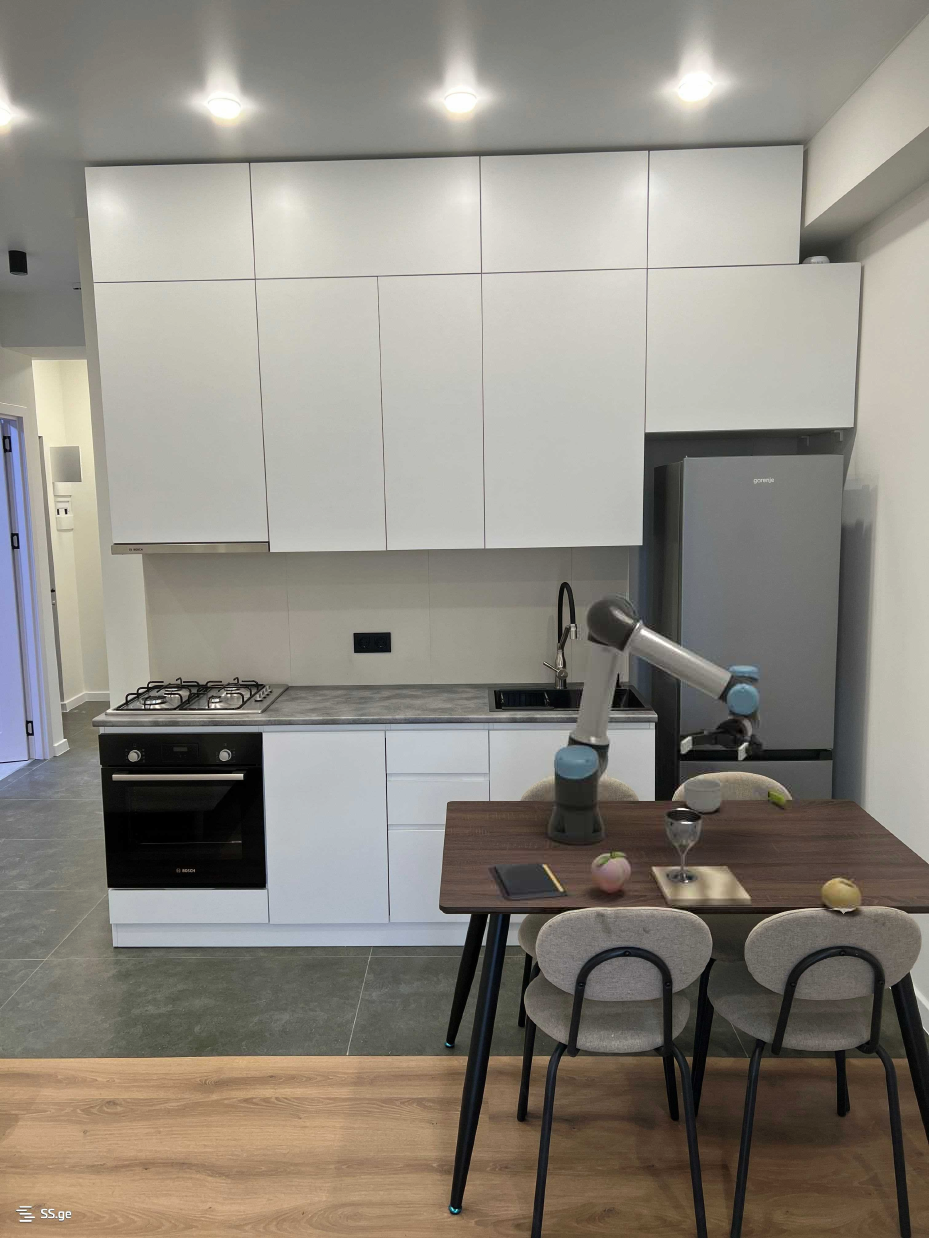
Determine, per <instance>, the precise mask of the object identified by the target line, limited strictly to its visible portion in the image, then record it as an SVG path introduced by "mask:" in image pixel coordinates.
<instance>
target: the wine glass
mask: <svg viewBox="0 0 929 1238" xmlns="http://www.w3.org/2000/svg"><path fill="white" fill-rule="evenodd" d="M665 828H666V832H667V833H666V834H667V837H668V839H669V840H670V842H671V843H672V844H673V845H674V846H675V848H676V849H677V850H678V853H679V857H680V860H679V861H680V867H681V868H678V869H672V870H669V871H668V872H667V874H666V875H667V877H668V878H669V879H670V880H672V881H675V882H678V883H692V882H694V881H696V880H697V879H698V876H697V874H696V873H694V872H693V871H690V870H687V869H684V867H685V859H686V854H687V852H688V851H689V849H690V848H691V847H693V846H694V845H695V844H696V843H697V842H698V840H699V837H700V833H701V830H702V815H701V814H700V812H697V811H694V810H692V809H690V808H689V809H688V808H687V809H686V808H674V809H670V810H668V811H667V812H666V814H665Z"/></svg>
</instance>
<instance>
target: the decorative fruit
mask: <svg viewBox="0 0 929 1238" xmlns="http://www.w3.org/2000/svg"><path fill="white" fill-rule="evenodd" d="M625 857H628V855H627V854H625V853H624V852H620V851H614V852H613V851H612V850H609V853H602V854H601V855H599V856H597V857H596V858H595V859H594V860H593V861H592V863H591V866H590V874H591V877H592V880H593V882H594V884H595V885H596V886H597V888H599V889H600V890H602V891H604V892H605V893H609V894H613V893H615V892H618V891H619V890H621V889H622V888H623V887H624V886H625V885H626V884H627V882H628V881H629V879H630V877H631V874H632V873H631V872H632V869H631V868H632V867H631V865H630V863H629V862H628V860H627V859H626V858H625Z"/></svg>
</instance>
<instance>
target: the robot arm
mask: <svg viewBox="0 0 929 1238" xmlns="http://www.w3.org/2000/svg"><path fill="white" fill-rule="evenodd" d="M636 613H637V612H636V609H635V606H634V605H633V603H632V602H631V601H630V600H628V599H627V598H626V597H624V596H621V595H619V594H618V595H617V594H609V595H606V596H603V597H601V598H600V599H598V600H597V601H595V602H594V603H593V604H592V605H591V606H590V607H589V609H588V611H587V613H586V621H585V622H586V627H587V629H588V633H587V638H586V641H587V642H588V644H589V646H590V651H589V657H588V662H587V667H586V672H585V678H584V683H583V689H582V695H581V699H580V706H579V709H578V715H577V721H576V725H575V728H574V729H572V730H571V731H570V732H569V734H568V740H567V745H566V746H564V747H561V748H559V749H558V750H557V751H556V752H555V754H554V761H553V768H554V806H553V811H552V813H551V817H550V820H549V821H548V825H547V826H548V827H547V835H548V837H549V838H550V839H551V840H553V841H555V842H557V843H561V844H565V845H566V844H567V845H573V846H574V845H579V846H580V845H581V846H582V845H584V846H585V845H592V844H596V843H598V842H600V841H602V840H603V839H604V838H605V825H604V823H603V820H602V816H601V813H600V810H599V782H600V780H601V778H602V776H603V775H604V774H605V771H606V770H607V768H608V765H609V749H610V745H611V744H610V743H611V739H610V738H609V736H608V735H607V732H608V725H609V722H610V721H609V720H610V717H611V716H610V715H611V711H612V706H613V700H614V695H615V690H616V684H617V680H618V674H619V669H620V664H621V660H622V654H623V653H631V654H633V655H635V656H637V657H638V658H641V659H642V660H644V661H646V662H648V663H650V664H652V665H653V666H656V667H657V668H659V669H661V670H663V671H664V672H666V673H668V674H670V675H672V676H673V677H675V678H678V679H679V680H681V681H682V682H685V683H686V684H689V685H690V686H692V687H693V688H695V689H698V690H699V691H701V692H703V693H705V694H707V695H709V696H710V697H712V698H714V699H716V700H718V701H719V702H721V703H722V704H725V705H726V706H727V707H728V708H727V718H725V719H724V720H723V721H721V722H720V723H719V724H718V725H717V726H716V729H715V730H711V731H708V732H707V729H705V728H702V729H699V730H696V731H691V732H685V733H682V734H681V733H680V734H678V745H679V746H680V754H682V755H683V754H686V753H687V752H688V751H690V750H691V749H692V748H693V747H695V746H696V747H697V746H703V745H709V746H711V747H712V746H713V747H714V746H721V747H722V748H724V749H726V750H730V751H731V750H737V749H738V751H737V752H738V753H737V755H738V756H737V758H738V759H737V761H742V760H744V758H746V757H747V756H748V755H752V754H754V753H756V754H758V755H762V754H763V742H761V740H759V739H758V738H757V735H756V734H757V732H758V731H759V729H760V728H761V721H762V719H761V717H760V714H759V713H758V710H759V709H758V708H759V703H760V697H761V696H760V693H759V680H760V679H759V670H758V669H757V667H754V666H750V665H734V666H731V667H730V668H729V669H728V670H726V669H724V668H722V667H719V666H718V665H716V664H714V663H712V662H711V661H709V660H707V659H705V658H703V657H702V656H699V655H697V654H695V653H694V652H692V651H690V650H689V649H687V648H685V647H683V646H682V645H679V644H678V643H675V642H674V641H672V640H670V639H668V638H666V637H665V636H662V635H661V634H659V633H657V632H655V631H654V630H651V629H649V628H648V627H646V626H645V625H644V623H643V620H642V619H641V618H640V619H639V618H638V617H637V614H636Z"/></svg>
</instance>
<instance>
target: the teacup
mask: <svg viewBox="0 0 929 1238" xmlns="http://www.w3.org/2000/svg"><path fill="white" fill-rule="evenodd" d="M683 787H684V800H685V803H686V805H687V807H688V808H689V809H690V810H693V811H696V812H698V813H711V812H712V813H713V812H715V810H717V809H718V808H720V806H721V804H722V802H723V801H722V800H723V799H722V798H723V792H722V791H723V789H722V788H723V784H722V782H721V781H720V780H719V781H718V780H716V779H712V778H700V777H699V776H696V777H694V778H693V779H688V780H686V781H685V782H684V783H683Z"/></svg>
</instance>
